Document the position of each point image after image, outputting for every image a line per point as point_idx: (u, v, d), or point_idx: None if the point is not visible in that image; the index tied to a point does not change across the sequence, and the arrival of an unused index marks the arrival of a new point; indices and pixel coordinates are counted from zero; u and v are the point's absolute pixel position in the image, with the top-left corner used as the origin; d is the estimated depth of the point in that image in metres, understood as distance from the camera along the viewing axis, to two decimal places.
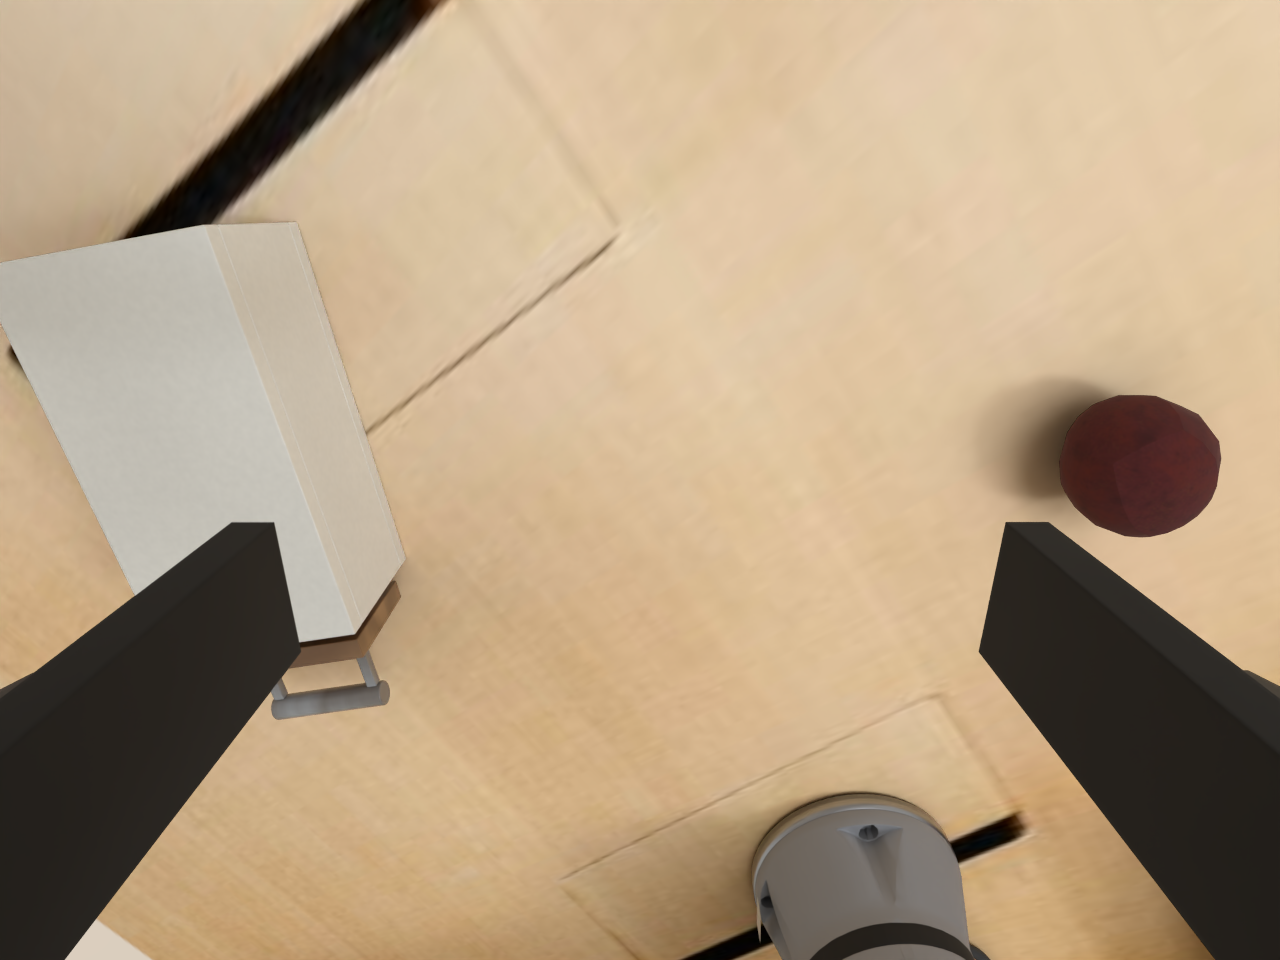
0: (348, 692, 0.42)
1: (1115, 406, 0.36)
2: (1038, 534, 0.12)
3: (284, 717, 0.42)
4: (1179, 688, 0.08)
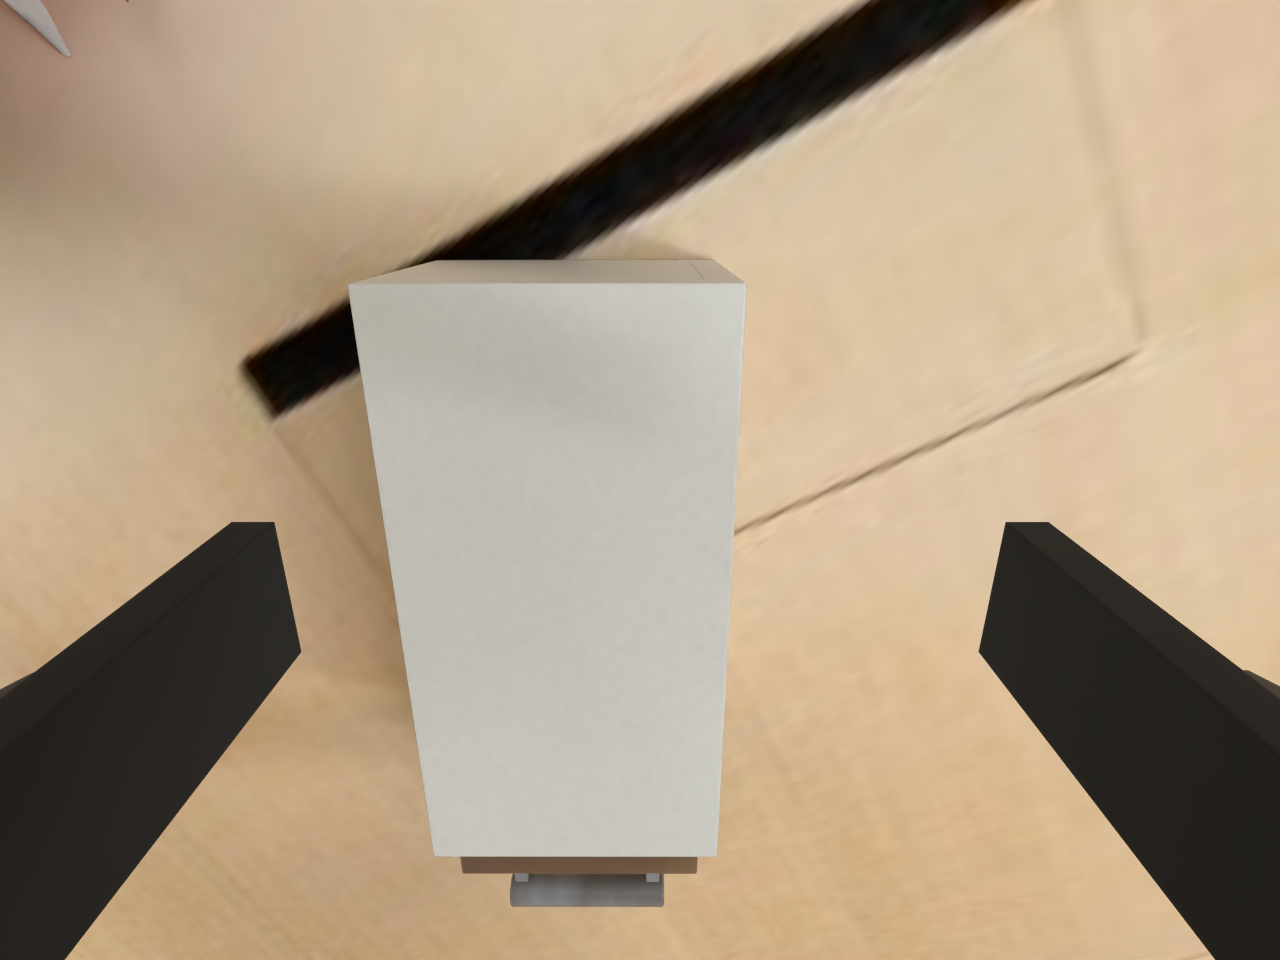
0: (619, 885, 0.31)
1: None
2: (1038, 534, 0.12)
3: (524, 906, 0.31)
4: (1179, 688, 0.08)
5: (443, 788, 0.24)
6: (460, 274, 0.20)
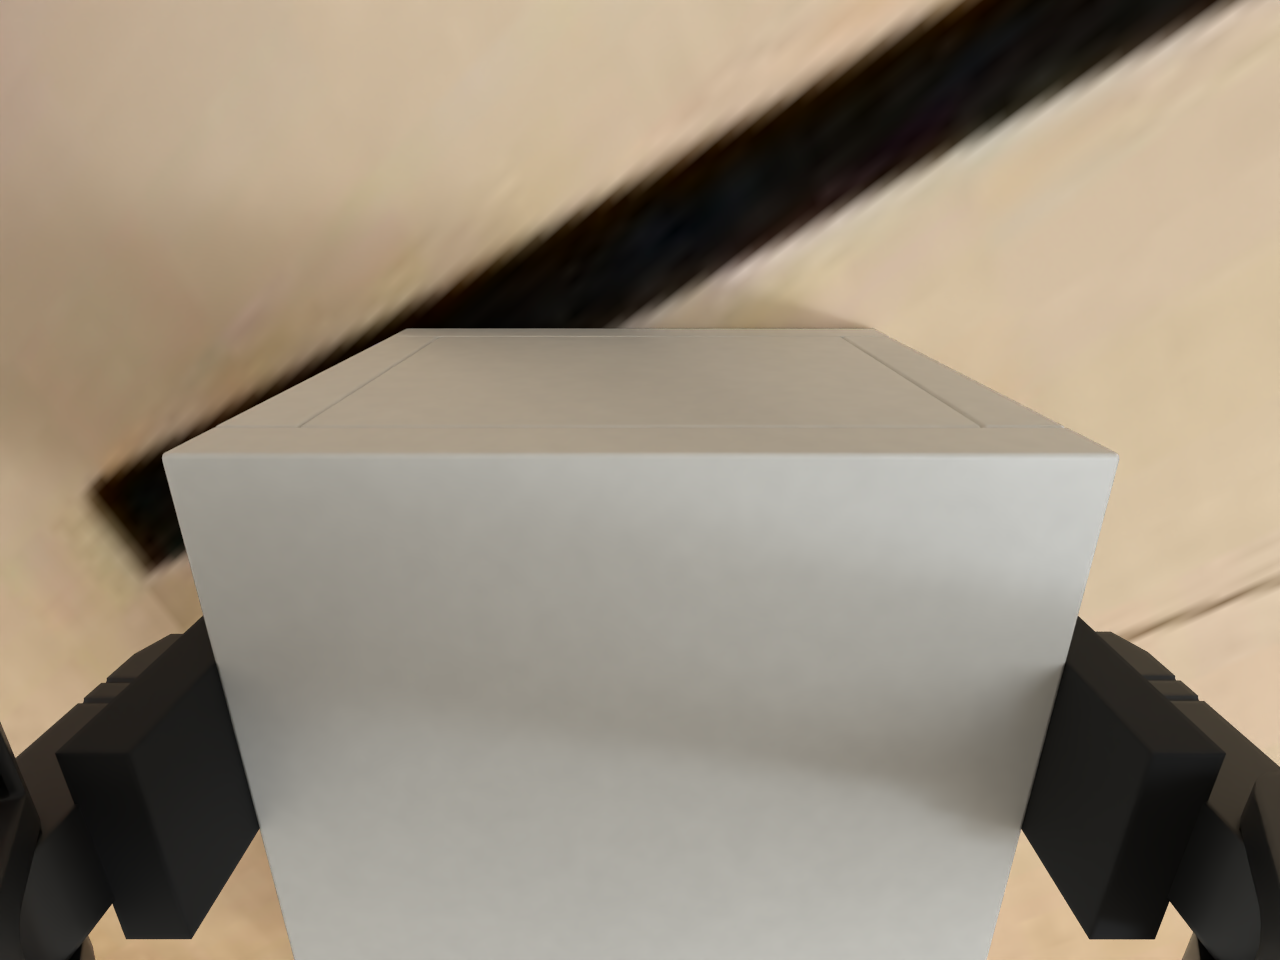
0: None
1: None
2: None
3: None
4: None
5: None
6: (439, 394, 0.10)
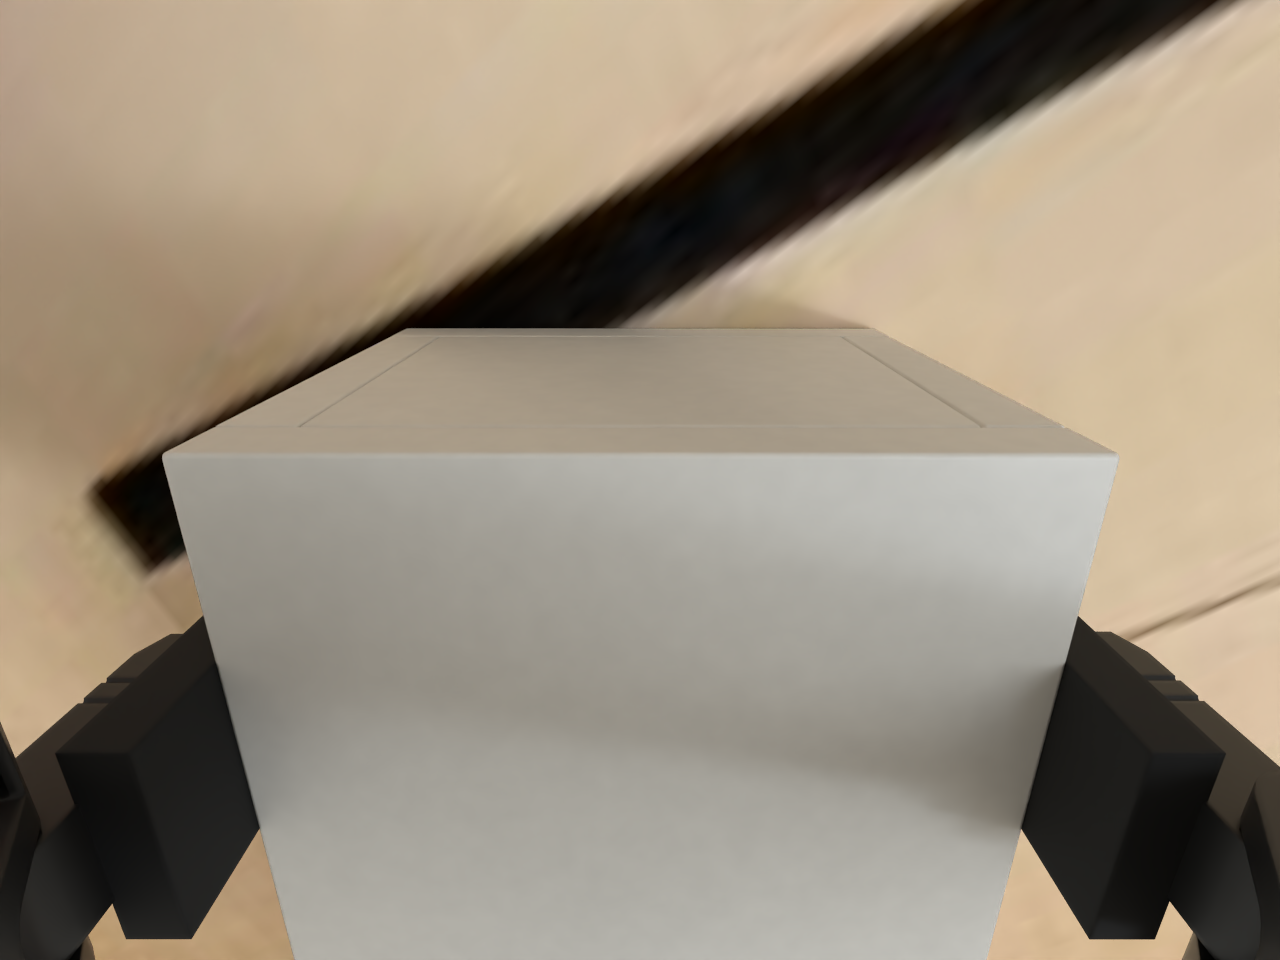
0: None
1: None
2: None
3: None
4: None
5: None
6: (439, 394, 0.10)
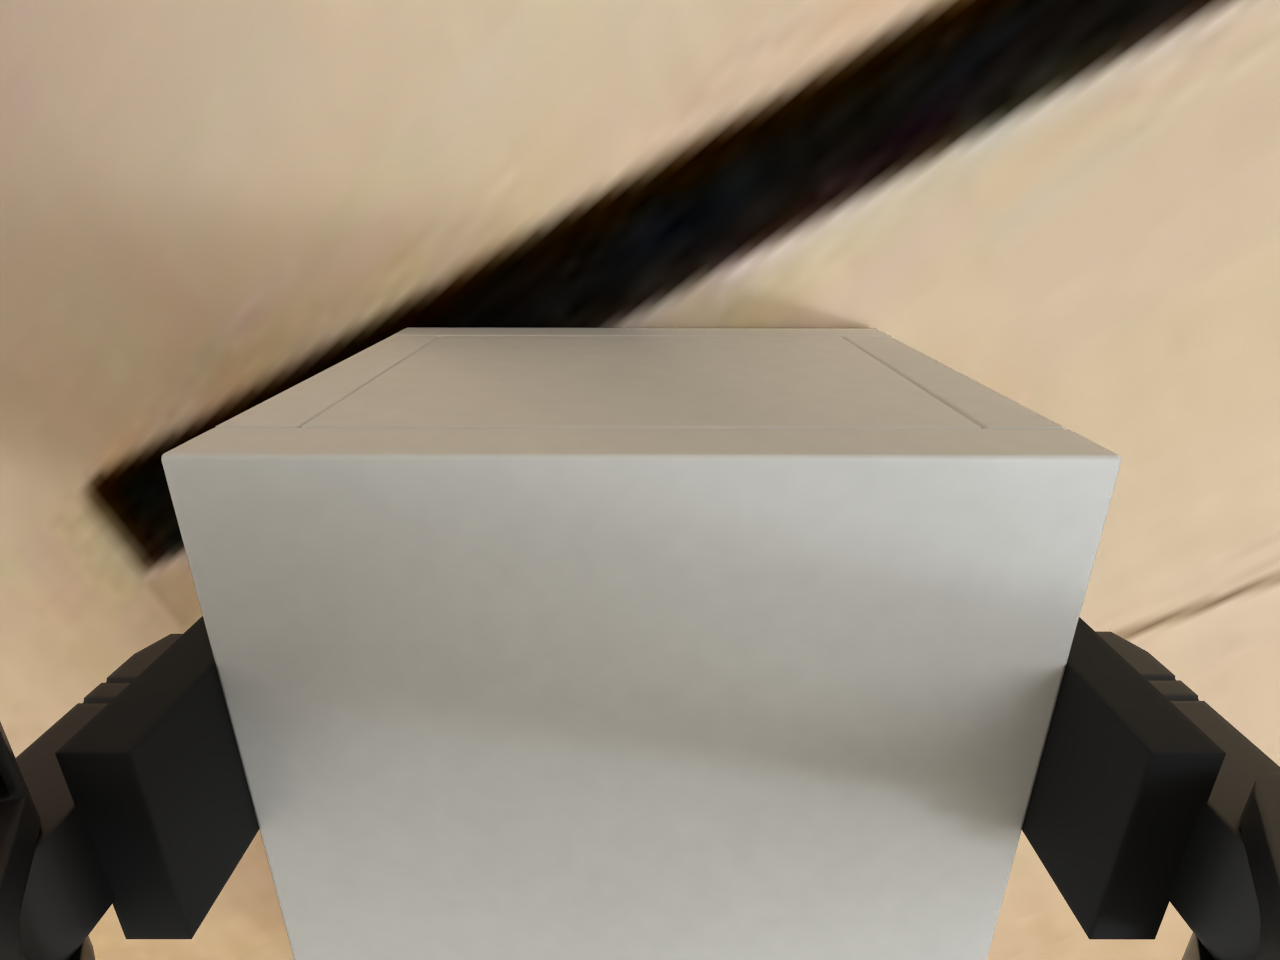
0: None
1: None
2: None
3: None
4: None
5: None
6: (439, 395, 0.10)
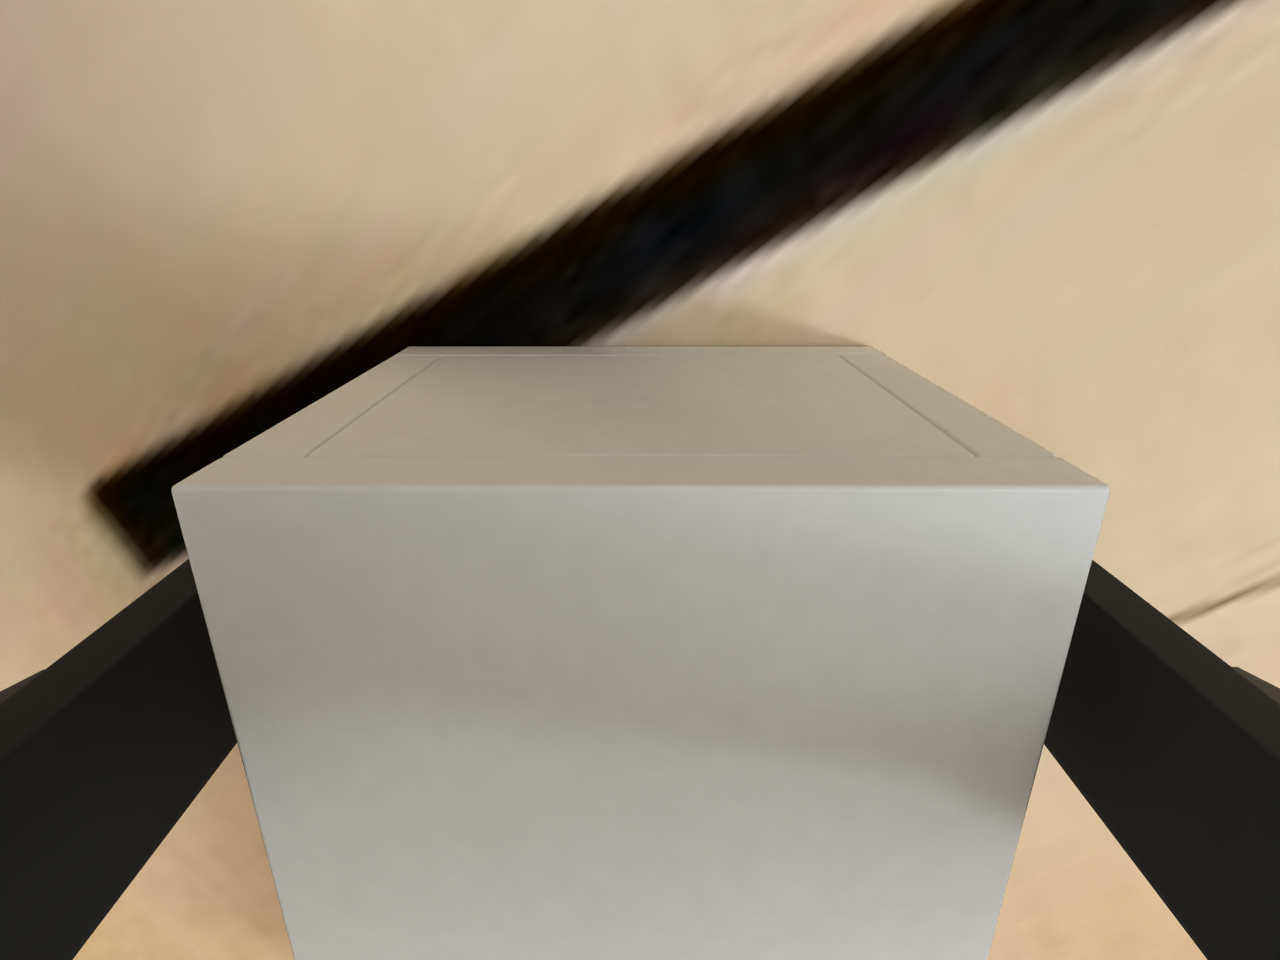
0: None
1: None
2: None
3: None
4: (1168, 684, 0.08)
5: None
6: (442, 421, 0.10)
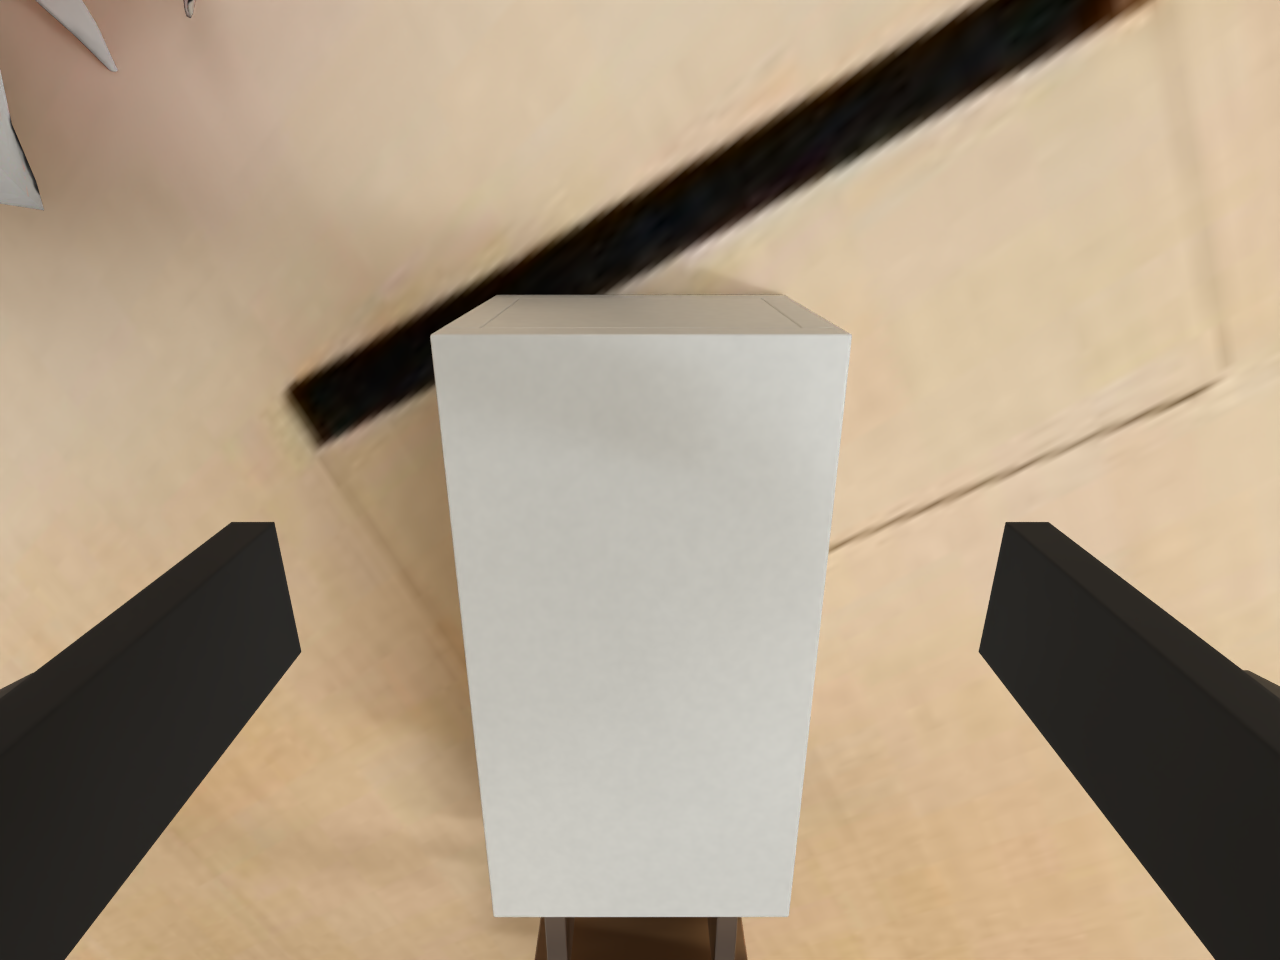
0: None
1: None
2: (1038, 534, 0.12)
3: None
4: (1179, 688, 0.08)
5: (507, 848, 0.23)
6: (538, 319, 0.19)
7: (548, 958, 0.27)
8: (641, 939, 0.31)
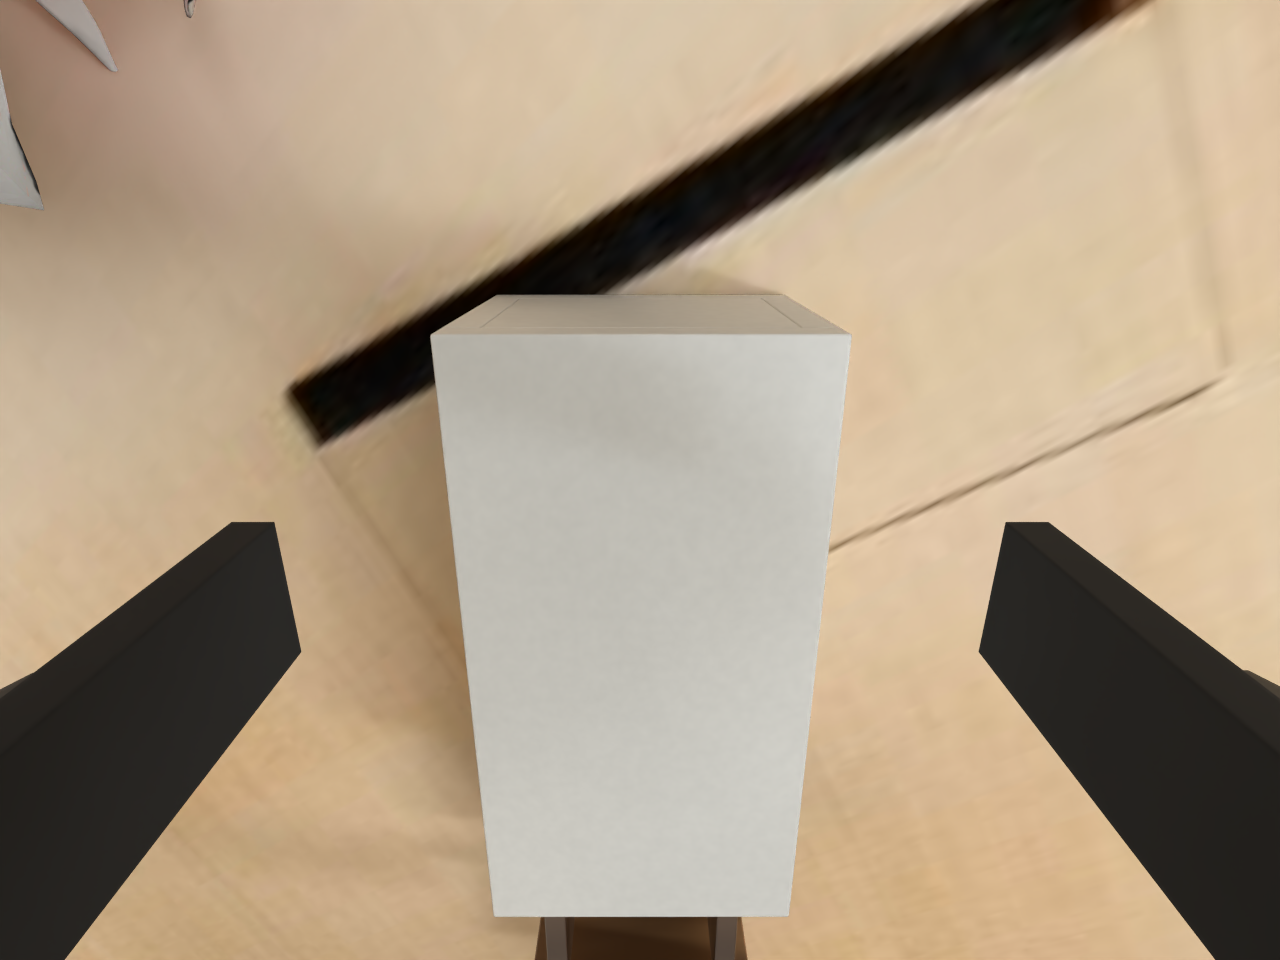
0: None
1: None
2: (1038, 534, 0.12)
3: None
4: (1179, 688, 0.08)
5: (507, 848, 0.23)
6: (538, 318, 0.19)
7: (548, 958, 0.27)
8: (641, 939, 0.31)
